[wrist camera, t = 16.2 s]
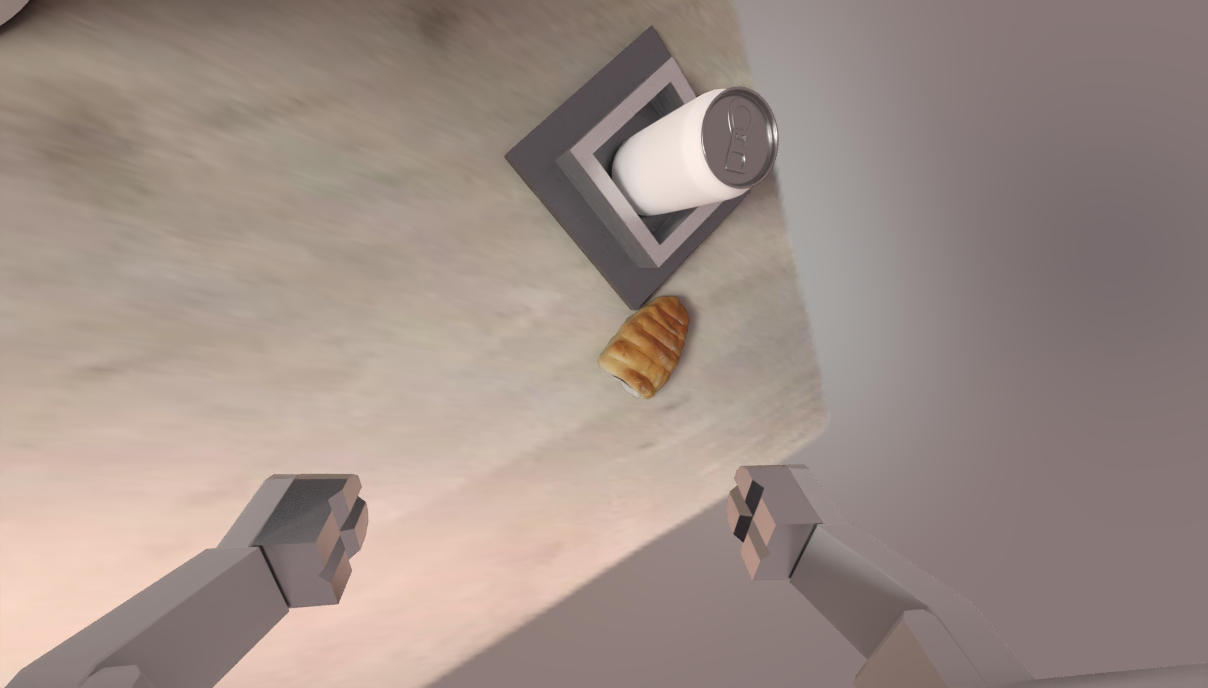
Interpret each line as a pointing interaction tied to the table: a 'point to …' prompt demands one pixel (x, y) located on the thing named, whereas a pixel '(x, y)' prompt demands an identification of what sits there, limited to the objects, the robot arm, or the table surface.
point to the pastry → (647, 347)
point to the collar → (584, 171)
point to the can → (698, 153)
